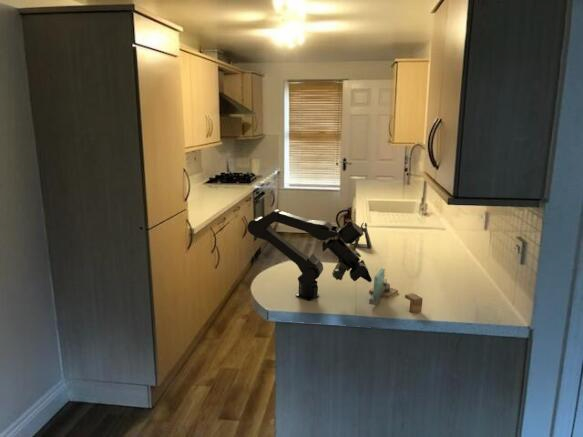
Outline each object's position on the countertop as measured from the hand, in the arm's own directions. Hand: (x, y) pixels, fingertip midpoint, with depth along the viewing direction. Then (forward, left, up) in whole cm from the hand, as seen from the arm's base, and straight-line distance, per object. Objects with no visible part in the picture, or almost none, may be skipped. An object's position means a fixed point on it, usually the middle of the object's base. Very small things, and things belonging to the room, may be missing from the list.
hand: (370, 281), depth 165 cm
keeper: (+15, +4, -8) cm, 17 cm away
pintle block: (0, +11, -8) cm, 13 cm away
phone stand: (-40, +61, -8) cm, 73 cm away
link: (+2, +4, -6) cm, 7 cm away
